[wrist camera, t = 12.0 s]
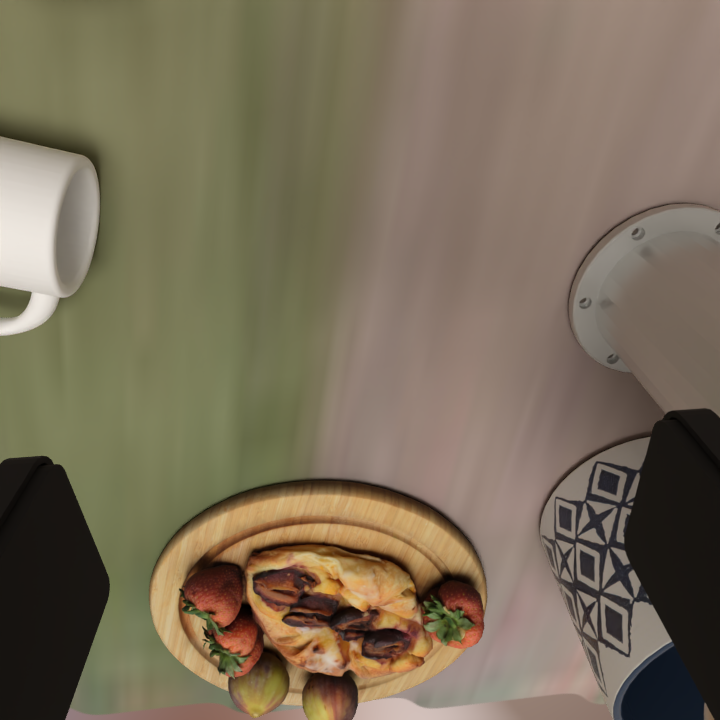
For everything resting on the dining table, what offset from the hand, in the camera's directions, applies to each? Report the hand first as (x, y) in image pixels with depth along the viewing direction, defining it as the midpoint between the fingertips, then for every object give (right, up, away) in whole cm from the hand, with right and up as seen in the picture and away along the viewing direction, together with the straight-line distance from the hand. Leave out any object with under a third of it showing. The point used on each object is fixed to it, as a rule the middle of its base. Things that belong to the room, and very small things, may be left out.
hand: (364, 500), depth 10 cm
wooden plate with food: (-4, -21, +49) cm, 53 cm away
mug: (-22, +11, +28) cm, 37 cm away
